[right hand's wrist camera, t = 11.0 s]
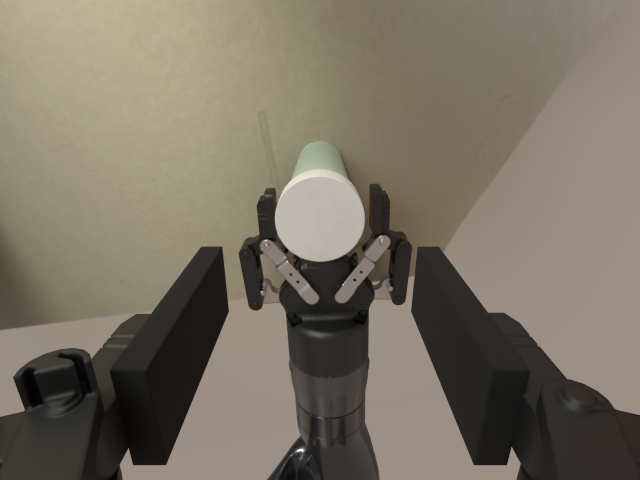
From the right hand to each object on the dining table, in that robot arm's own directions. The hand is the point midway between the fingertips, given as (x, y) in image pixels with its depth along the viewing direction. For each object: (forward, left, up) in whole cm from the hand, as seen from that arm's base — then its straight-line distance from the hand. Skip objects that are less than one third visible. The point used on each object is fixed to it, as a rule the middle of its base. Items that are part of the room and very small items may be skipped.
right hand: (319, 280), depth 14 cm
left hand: (+1, -1, -17) cm, 17 cm away
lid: (0, 0, -7) cm, 7 cm away
